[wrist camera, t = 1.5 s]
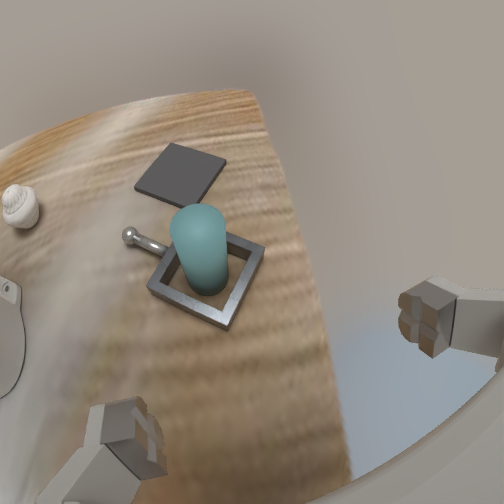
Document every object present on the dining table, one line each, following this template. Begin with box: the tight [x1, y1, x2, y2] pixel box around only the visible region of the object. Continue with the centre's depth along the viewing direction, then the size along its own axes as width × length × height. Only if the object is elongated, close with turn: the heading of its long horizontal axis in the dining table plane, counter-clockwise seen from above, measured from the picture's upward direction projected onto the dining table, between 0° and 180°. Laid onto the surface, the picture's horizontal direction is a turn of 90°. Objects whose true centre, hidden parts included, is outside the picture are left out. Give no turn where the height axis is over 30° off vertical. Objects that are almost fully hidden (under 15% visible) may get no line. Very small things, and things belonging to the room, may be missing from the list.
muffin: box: [2, 184, 39, 229], centre depth 32 cm, size 6×6×7 cm
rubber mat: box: [134, 143, 226, 208], centre depth 38 cm, size 9×9×1 cm
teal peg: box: [170, 203, 229, 296], centre depth 28 cm, size 4×4×10 cm
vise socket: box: [122, 227, 265, 331], centre depth 32 cm, size 16×9×2 cm, turn 66°
